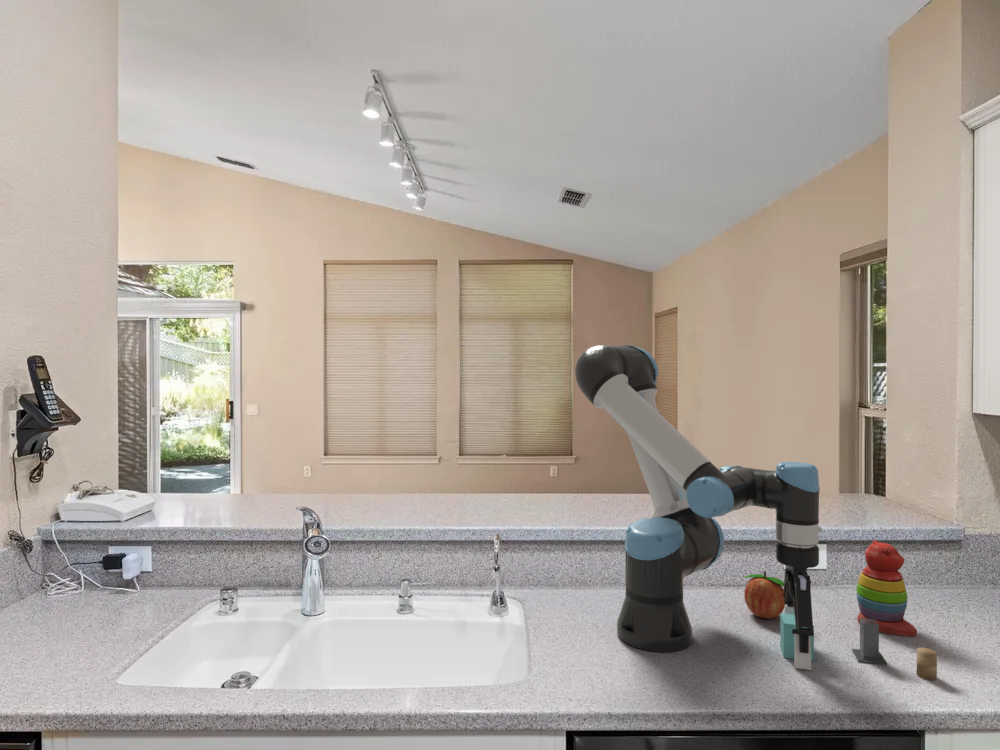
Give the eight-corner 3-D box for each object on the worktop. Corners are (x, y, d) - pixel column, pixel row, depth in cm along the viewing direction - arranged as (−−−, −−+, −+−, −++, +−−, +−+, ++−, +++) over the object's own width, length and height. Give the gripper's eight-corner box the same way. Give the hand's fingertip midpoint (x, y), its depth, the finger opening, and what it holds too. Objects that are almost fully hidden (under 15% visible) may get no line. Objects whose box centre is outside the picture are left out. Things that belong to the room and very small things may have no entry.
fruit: (775, 627, 134) (775, 581, 134) (734, 614, 141) (734, 570, 141) (794, 617, 139) (794, 572, 139) (753, 604, 147) (754, 562, 146)
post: (858, 661, 118) (858, 624, 118) (852, 650, 123) (852, 615, 123) (887, 665, 117) (887, 628, 117) (879, 653, 121) (879, 618, 121)
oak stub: (920, 678, 112) (920, 653, 112) (914, 671, 115) (914, 646, 115) (939, 681, 111) (939, 656, 111) (933, 673, 114) (933, 648, 114)
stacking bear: (920, 637, 129) (921, 551, 128) (866, 633, 131) (867, 548, 130) (898, 617, 139) (899, 537, 139) (848, 613, 141) (849, 535, 141)
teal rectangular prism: (783, 657, 120) (784, 623, 120) (780, 645, 125) (780, 613, 125) (813, 661, 118) (813, 626, 118) (808, 649, 123) (808, 616, 123)
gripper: (832, 563, 109) (831, 686, 109) (807, 528, 132) (807, 629, 132) (785, 559, 111) (785, 679, 111) (769, 526, 134) (768, 625, 135)
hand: (797, 652), depth 122 cm, fingers open, 12 cm apart
